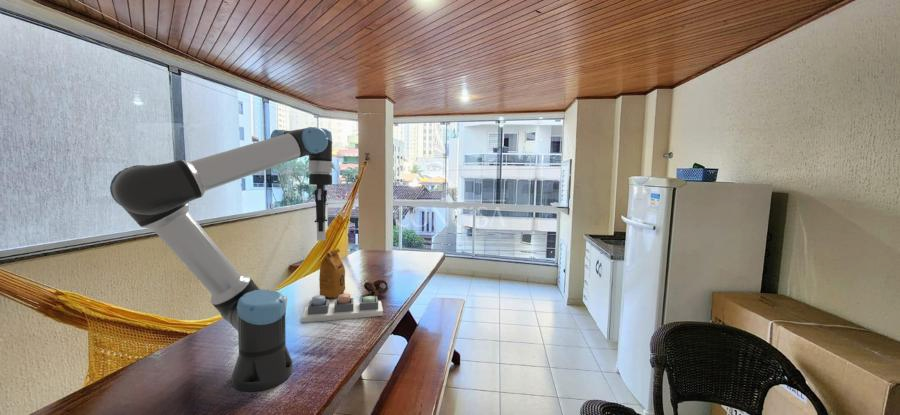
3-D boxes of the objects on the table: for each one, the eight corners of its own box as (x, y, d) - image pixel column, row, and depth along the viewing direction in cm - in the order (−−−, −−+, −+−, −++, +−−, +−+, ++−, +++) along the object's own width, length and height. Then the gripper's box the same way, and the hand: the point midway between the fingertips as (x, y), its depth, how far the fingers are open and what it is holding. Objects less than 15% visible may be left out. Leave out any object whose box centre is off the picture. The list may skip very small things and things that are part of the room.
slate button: (311, 307, 136) (311, 300, 136) (312, 302, 141) (312, 295, 141) (324, 306, 137) (324, 299, 137) (325, 301, 142) (325, 294, 142)
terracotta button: (337, 305, 139) (337, 298, 138) (338, 301, 144) (338, 294, 143) (350, 304, 140) (350, 297, 140) (350, 300, 145) (350, 293, 145)
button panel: (302, 322, 132) (302, 310, 132) (306, 310, 144) (306, 299, 143) (382, 315, 141) (383, 303, 140) (380, 305, 152) (380, 294, 152)
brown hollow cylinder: (387, 291, 172) (391, 280, 168) (383, 305, 164) (386, 294, 160) (364, 285, 171) (367, 273, 167) (359, 299, 163) (361, 287, 159)
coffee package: (348, 291, 169) (348, 248, 167) (335, 300, 157) (335, 253, 155) (330, 290, 171) (330, 246, 169) (316, 298, 158) (315, 252, 157)
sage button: (362, 307, 142) (362, 300, 141) (362, 303, 146) (362, 296, 146) (375, 306, 143) (375, 299, 143) (374, 302, 148) (374, 295, 148)
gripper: (330, 173, 113) (331, 243, 115) (333, 174, 126) (333, 236, 128) (306, 173, 111) (307, 243, 113) (311, 173, 124) (312, 237, 126)
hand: (321, 240), depth 121 cm, fingers closed
